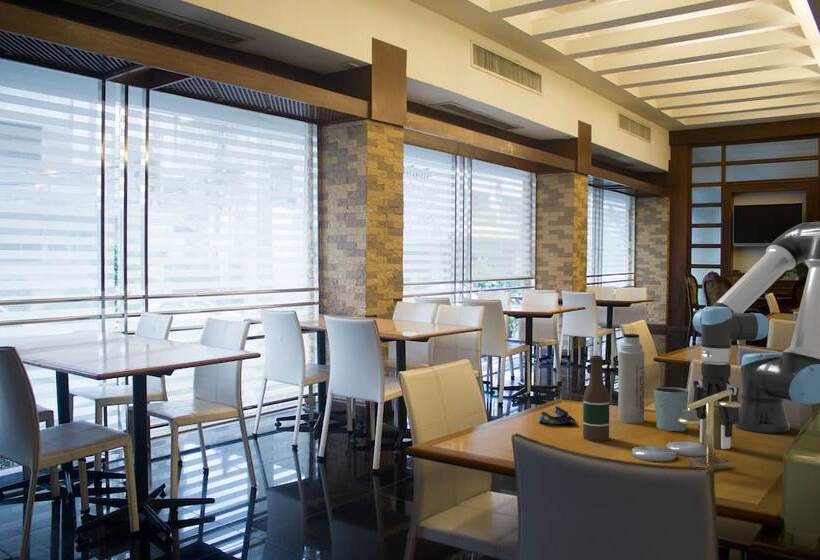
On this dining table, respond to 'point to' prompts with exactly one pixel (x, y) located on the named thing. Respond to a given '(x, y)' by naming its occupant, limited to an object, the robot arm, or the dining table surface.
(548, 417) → the snack package
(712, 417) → the balance
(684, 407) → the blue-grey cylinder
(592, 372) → the beer bottle
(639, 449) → the dish low end
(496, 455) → the dining table surface
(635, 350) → the thermos bottle
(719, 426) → the pepper shaker
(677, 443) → the dish high end
